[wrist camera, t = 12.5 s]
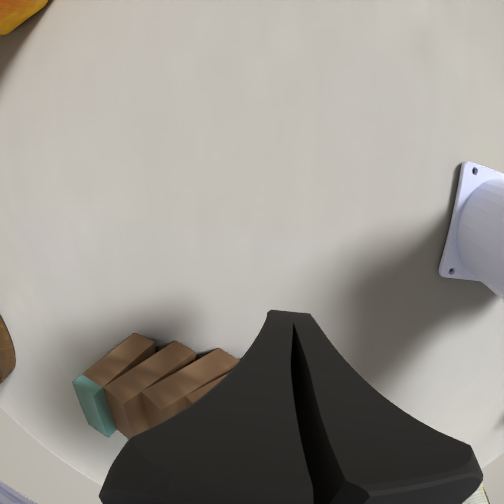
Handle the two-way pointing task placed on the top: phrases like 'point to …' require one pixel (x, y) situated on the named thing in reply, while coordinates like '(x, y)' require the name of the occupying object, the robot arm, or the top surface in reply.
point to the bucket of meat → (17, 12)
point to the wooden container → (5, 352)
